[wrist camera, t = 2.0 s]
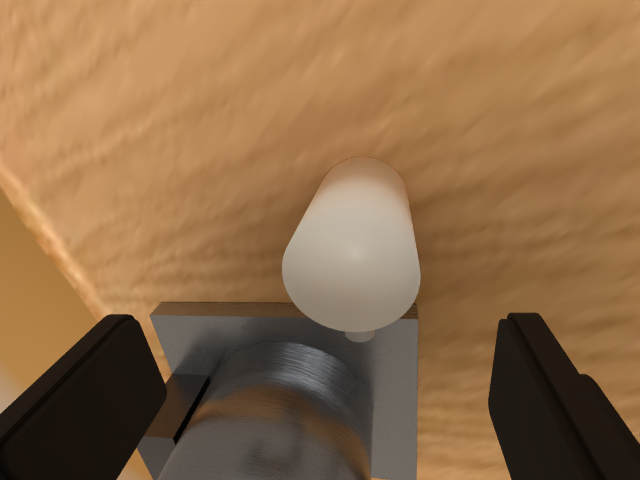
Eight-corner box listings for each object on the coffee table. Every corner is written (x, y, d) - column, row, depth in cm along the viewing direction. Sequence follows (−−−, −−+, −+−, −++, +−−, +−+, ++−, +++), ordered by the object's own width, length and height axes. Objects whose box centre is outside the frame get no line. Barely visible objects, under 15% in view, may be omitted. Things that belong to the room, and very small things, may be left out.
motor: (416, 304, 22) (443, 513, 12) (414, 463, 29) (431, 684, 19) (161, 302, 26) (10, 462, 15) (214, 444, 32) (134, 621, 22)
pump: (407, 153, 18) (421, 209, 11) (407, 265, 21) (419, 366, 14) (313, 160, 19) (271, 217, 12) (325, 266, 22) (298, 362, 15)
